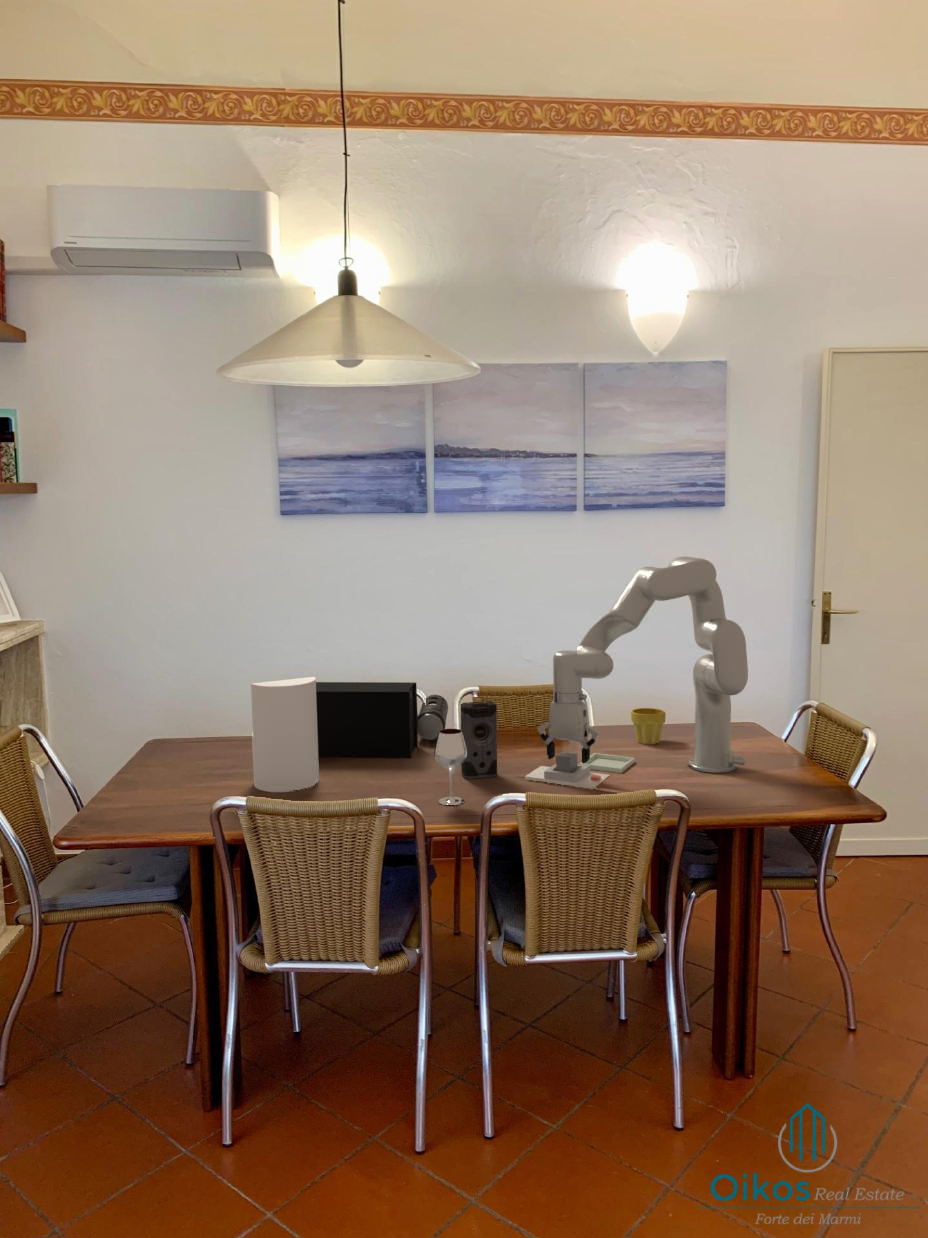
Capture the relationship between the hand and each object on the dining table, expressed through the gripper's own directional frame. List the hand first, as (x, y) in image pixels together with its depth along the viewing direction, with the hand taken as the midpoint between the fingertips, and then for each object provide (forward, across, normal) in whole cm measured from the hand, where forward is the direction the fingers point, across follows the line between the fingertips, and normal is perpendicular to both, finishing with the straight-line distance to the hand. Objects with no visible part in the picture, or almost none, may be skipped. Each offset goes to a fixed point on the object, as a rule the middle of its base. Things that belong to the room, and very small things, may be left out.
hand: (568, 760), depth 244 cm
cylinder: (+5, +67, +35) cm, 76 cm away
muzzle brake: (+5, +58, -28) cm, 65 cm away
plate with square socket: (+5, 0, 0) cm, 5 cm away
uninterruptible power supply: (+5, +67, +1) cm, 67 cm away
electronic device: (+5, +23, +7) cm, 25 cm away
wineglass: (+5, +19, +30) cm, 36 cm away
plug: (+4, 0, +1) cm, 4 cm away
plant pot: (+6, -8, -47) cm, 48 cm away
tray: (+5, -6, -15) cm, 17 cm away
